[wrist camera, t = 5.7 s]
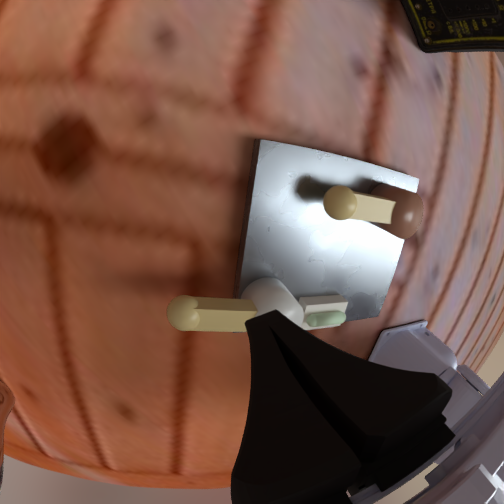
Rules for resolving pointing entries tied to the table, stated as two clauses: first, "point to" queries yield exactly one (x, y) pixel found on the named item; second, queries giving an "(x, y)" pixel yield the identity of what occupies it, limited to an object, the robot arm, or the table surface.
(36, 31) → the table surface
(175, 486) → the table surface
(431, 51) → the voltmeter
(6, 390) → the beer glass
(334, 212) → the beige knobbed bar
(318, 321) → the bubble vial
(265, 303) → the footscrew grey
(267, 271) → the levelling plate
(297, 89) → the table surface
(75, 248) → the table surface
